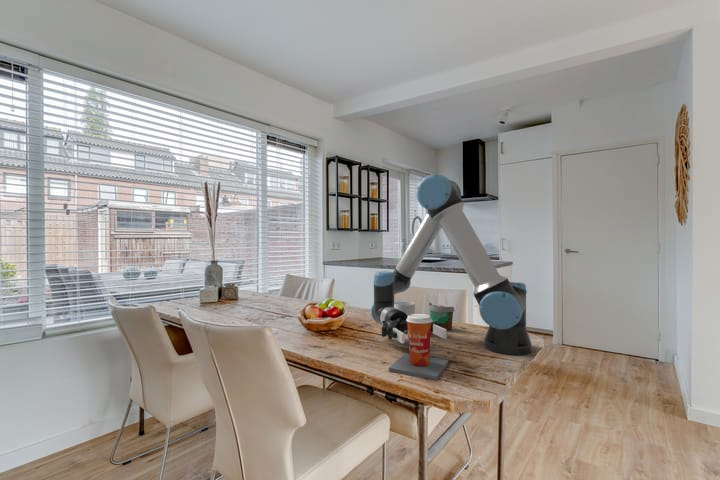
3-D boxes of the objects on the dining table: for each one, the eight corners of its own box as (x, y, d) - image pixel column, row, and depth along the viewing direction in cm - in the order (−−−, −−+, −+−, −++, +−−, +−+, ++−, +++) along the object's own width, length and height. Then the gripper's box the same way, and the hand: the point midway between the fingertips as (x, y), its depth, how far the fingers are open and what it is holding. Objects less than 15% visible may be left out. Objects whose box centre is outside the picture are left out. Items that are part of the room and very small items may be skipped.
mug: (410, 334, 140) (410, 306, 140) (389, 331, 145) (389, 304, 145) (420, 327, 151) (420, 301, 151) (401, 324, 155) (401, 299, 155)
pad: (448, 363, 108) (448, 360, 108) (436, 379, 96) (436, 376, 95) (404, 356, 114) (404, 353, 114) (388, 371, 102) (388, 367, 102)
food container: (421, 327, 150) (421, 304, 150) (430, 325, 154) (430, 302, 154) (445, 333, 141) (445, 308, 141) (454, 330, 145) (454, 306, 145)
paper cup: (402, 364, 104) (401, 316, 104) (413, 357, 111) (412, 312, 111) (426, 369, 100) (426, 319, 100) (437, 361, 106) (436, 315, 106)
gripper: (426, 327, 126) (461, 345, 106) (360, 333, 118) (384, 354, 98) (426, 306, 126) (462, 320, 106) (360, 311, 118) (384, 326, 98)
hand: (424, 336), depth 102 cm, fingers open, 13 cm apart
